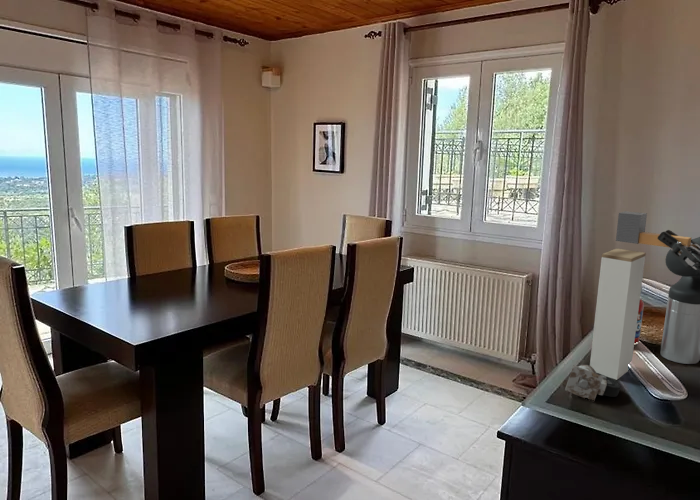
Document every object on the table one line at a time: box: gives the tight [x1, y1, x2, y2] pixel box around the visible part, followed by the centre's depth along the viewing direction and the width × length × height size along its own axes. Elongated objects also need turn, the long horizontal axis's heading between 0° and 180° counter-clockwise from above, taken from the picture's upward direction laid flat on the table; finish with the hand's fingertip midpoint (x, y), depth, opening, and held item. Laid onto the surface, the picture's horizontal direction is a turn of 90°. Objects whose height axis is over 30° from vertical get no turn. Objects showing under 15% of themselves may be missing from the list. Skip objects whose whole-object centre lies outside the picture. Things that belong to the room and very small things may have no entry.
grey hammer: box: [615, 210, 692, 249], centre depth 119 cm, size 15×4×7 cm, turn 42°
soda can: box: [634, 295, 645, 343], centre depth 149 cm, size 8×8×15 cm
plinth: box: [589, 248, 647, 381], centre depth 130 cm, size 7×10×32 cm
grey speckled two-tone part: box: [564, 364, 622, 401], centre depth 122 cm, size 7×11×10 cm
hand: (662, 233), depth 118 cm, fingers closed on grey hammer, 2 cm apart
